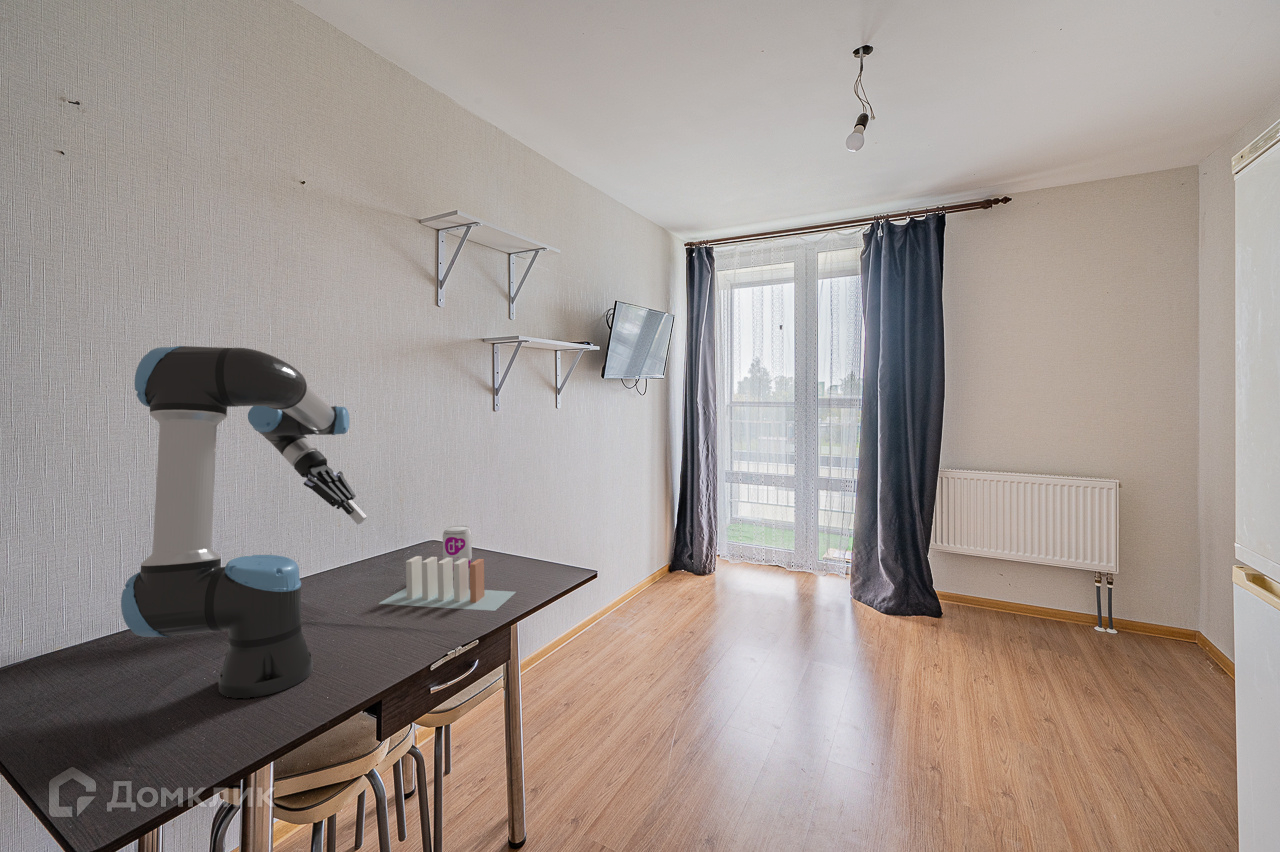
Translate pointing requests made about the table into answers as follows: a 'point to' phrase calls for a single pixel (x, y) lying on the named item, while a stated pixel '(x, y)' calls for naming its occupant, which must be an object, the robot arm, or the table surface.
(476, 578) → the domino
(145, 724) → the table surface
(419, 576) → the domino
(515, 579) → the table surface
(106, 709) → the table surface
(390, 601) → the domino board
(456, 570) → the domino
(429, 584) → the domino
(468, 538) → the supplement can
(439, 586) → the domino
